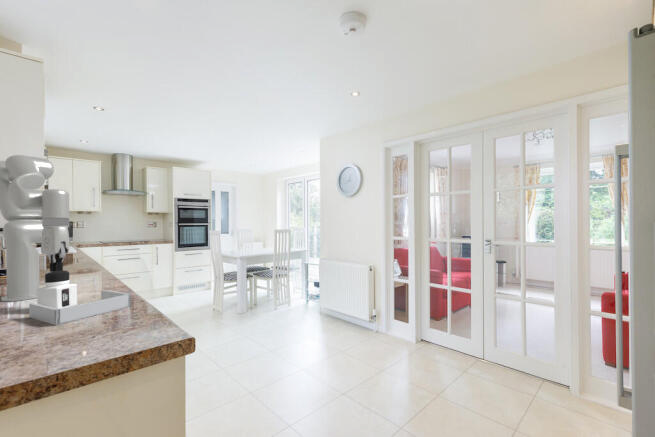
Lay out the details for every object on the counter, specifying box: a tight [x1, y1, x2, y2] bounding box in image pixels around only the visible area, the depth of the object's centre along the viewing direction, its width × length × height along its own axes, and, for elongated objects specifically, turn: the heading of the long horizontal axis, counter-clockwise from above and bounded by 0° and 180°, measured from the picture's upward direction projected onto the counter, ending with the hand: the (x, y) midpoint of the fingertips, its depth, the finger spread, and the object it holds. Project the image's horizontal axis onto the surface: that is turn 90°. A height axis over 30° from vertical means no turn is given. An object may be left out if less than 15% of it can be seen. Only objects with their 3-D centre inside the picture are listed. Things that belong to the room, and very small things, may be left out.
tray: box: [28, 289, 132, 326], centre depth 105 cm, size 17×22×4 cm
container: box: [36, 270, 78, 309], centre depth 109 cm, size 8×8×13 cm
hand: (56, 273), depth 113 cm, fingers closed
